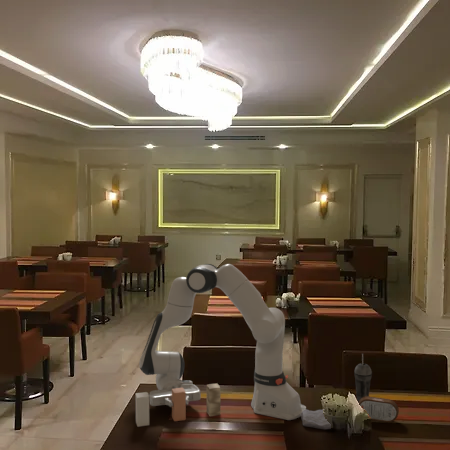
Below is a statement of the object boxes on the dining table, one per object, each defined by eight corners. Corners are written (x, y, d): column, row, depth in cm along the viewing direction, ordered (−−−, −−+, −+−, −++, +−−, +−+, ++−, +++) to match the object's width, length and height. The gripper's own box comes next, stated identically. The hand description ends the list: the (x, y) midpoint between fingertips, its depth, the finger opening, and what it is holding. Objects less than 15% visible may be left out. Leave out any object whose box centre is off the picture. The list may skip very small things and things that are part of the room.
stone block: (335, 434, 190) (331, 417, 199) (335, 423, 188) (331, 406, 198) (302, 434, 191) (300, 417, 200) (302, 423, 190) (300, 406, 199)
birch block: (217, 410, 206) (217, 383, 205) (220, 414, 202) (220, 387, 201) (206, 411, 204) (206, 384, 204) (209, 416, 200) (209, 388, 200)
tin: (398, 421, 197) (399, 399, 196) (398, 424, 194) (398, 402, 193) (357, 415, 202) (358, 394, 201) (357, 418, 199) (357, 397, 198)
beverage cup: (373, 399, 217) (374, 352, 216) (368, 405, 211) (369, 357, 210) (356, 395, 221) (357, 349, 220) (351, 401, 215) (352, 354, 214)
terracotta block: (182, 415, 201) (182, 387, 201) (185, 419, 197) (185, 391, 197) (171, 416, 200) (171, 388, 199) (174, 421, 196) (174, 393, 195)
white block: (147, 420, 197) (147, 391, 196) (149, 424, 193) (149, 396, 192) (135, 421, 196) (135, 393, 195) (137, 426, 191) (137, 397, 191)
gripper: (146, 385, 207) (152, 399, 194) (195, 380, 213) (204, 392, 200) (146, 401, 207) (152, 415, 194) (195, 394, 214) (204, 408, 201)
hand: (179, 403), depth 197 cm, fingers closed on terracotta block, 4 cm apart
